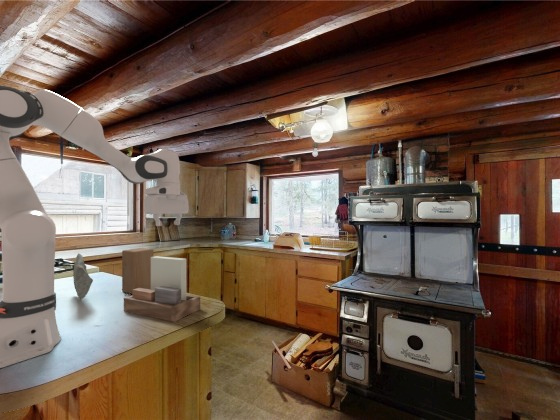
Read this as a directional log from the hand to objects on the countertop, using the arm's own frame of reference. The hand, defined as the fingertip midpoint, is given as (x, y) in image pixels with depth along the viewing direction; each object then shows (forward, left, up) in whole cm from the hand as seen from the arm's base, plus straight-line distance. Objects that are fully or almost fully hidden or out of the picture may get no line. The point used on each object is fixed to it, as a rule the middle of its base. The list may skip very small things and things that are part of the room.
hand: (168, 225), depth 112 cm
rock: (-8, +43, -33) cm, 55 cm away
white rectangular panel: (0, 0, -33) cm, 33 cm away
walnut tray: (-3, 0, -33) cm, 33 cm away
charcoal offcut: (-6, -6, -33) cm, 34 cm away
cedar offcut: (-6, +6, -33) cm, 34 cm away
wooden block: (+12, +32, -33) cm, 48 cm away
